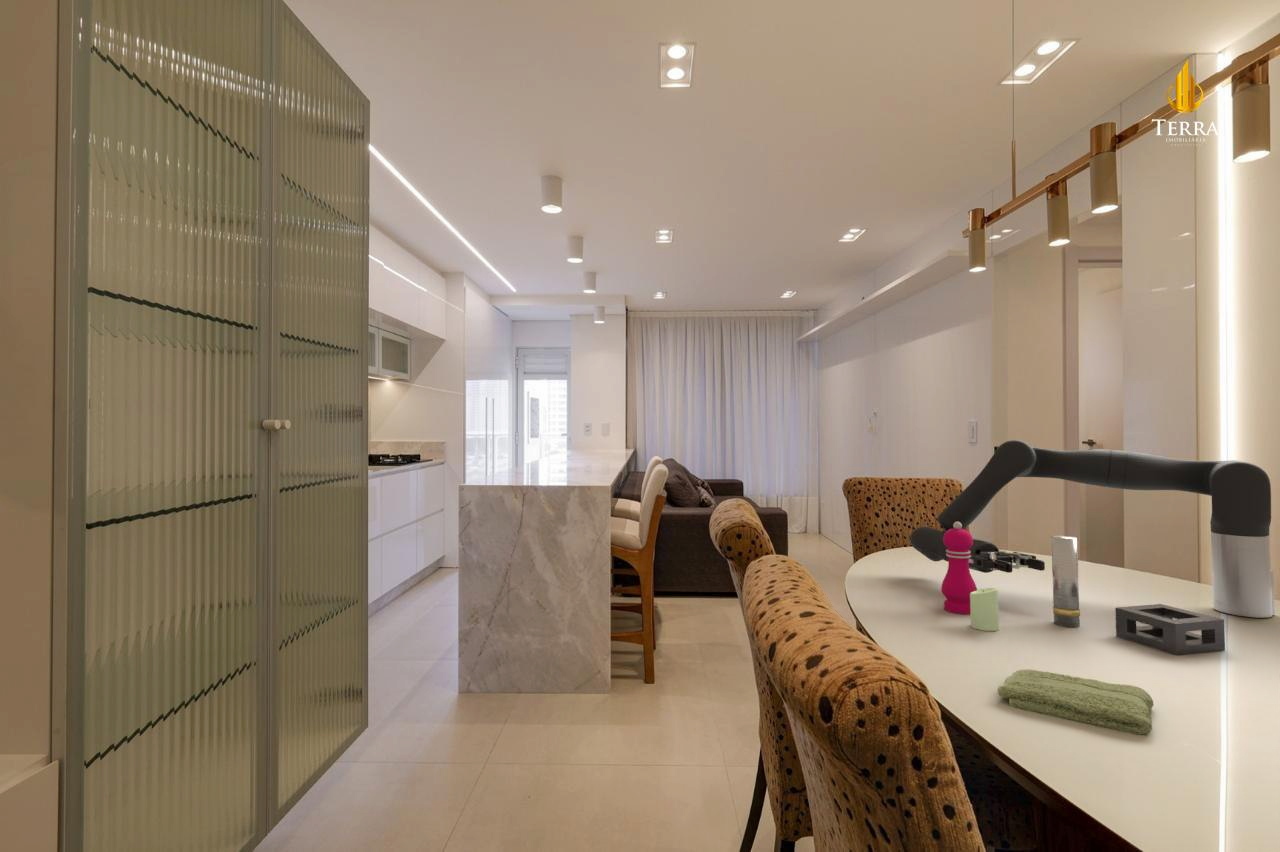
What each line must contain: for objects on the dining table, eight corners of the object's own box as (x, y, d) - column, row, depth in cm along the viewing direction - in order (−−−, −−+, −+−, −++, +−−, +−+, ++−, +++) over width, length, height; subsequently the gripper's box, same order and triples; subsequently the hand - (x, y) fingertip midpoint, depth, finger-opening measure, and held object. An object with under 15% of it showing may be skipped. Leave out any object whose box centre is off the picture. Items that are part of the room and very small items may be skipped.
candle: (967, 628, 124) (966, 587, 125) (974, 622, 128) (973, 583, 128) (995, 633, 121) (994, 591, 121) (1001, 627, 125) (1000, 587, 125)
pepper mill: (969, 606, 140) (967, 519, 141) (983, 615, 133) (981, 523, 134) (936, 605, 141) (934, 519, 141) (949, 614, 134) (947, 523, 134)
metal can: (1066, 620, 129) (1063, 535, 129) (1086, 626, 124) (1083, 538, 125) (1047, 621, 128) (1045, 536, 128) (1067, 628, 123) (1064, 539, 124)
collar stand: (1161, 631, 121) (1160, 603, 121) (1224, 650, 110) (1223, 619, 110) (1116, 635, 118) (1115, 607, 118) (1176, 655, 108) (1175, 624, 108)
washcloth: (1012, 679, 99) (1011, 659, 99) (1154, 709, 87) (1153, 686, 88) (995, 706, 89) (995, 684, 89) (1153, 744, 77) (1152, 718, 78)
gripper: (948, 540, 150) (999, 551, 135) (997, 537, 153) (1053, 548, 137) (949, 570, 150) (1000, 585, 134) (998, 567, 153) (1054, 582, 137)
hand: (1027, 567), depth 136 cm, fingers open, 8 cm apart
